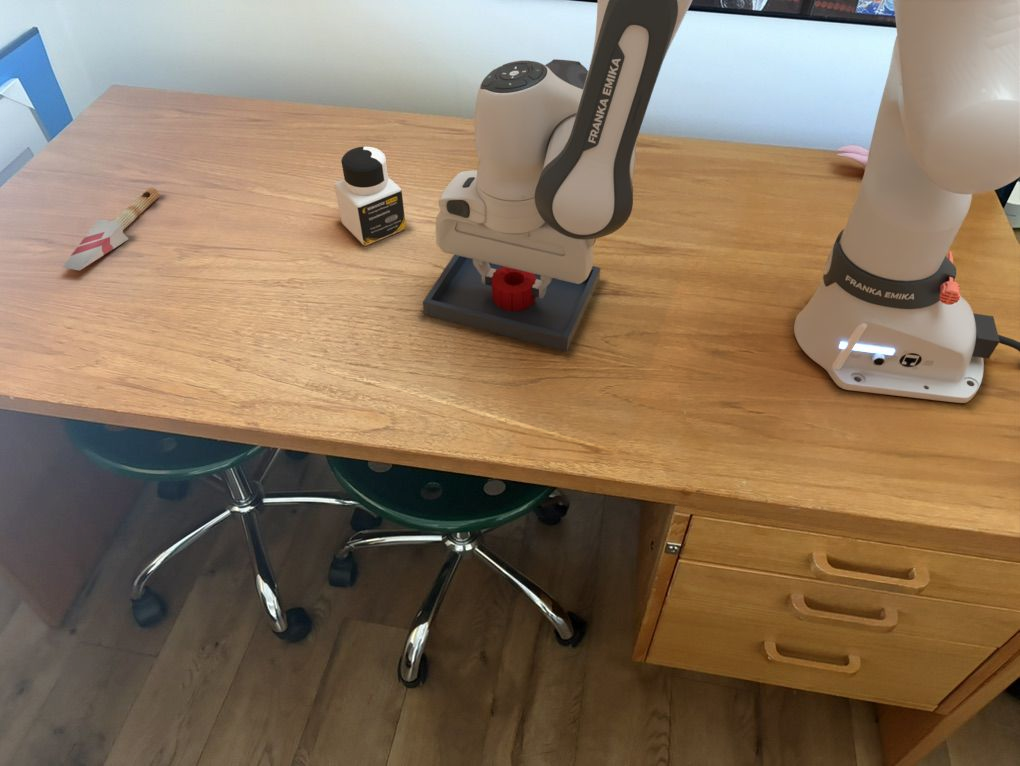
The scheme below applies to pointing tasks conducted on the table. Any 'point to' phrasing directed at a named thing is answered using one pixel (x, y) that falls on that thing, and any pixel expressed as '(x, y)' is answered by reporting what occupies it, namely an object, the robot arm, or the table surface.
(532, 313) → the tray
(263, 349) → the table surface
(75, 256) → the garden trowel
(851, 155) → the rabbit figure
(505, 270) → the ring
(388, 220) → the medicine bottle
